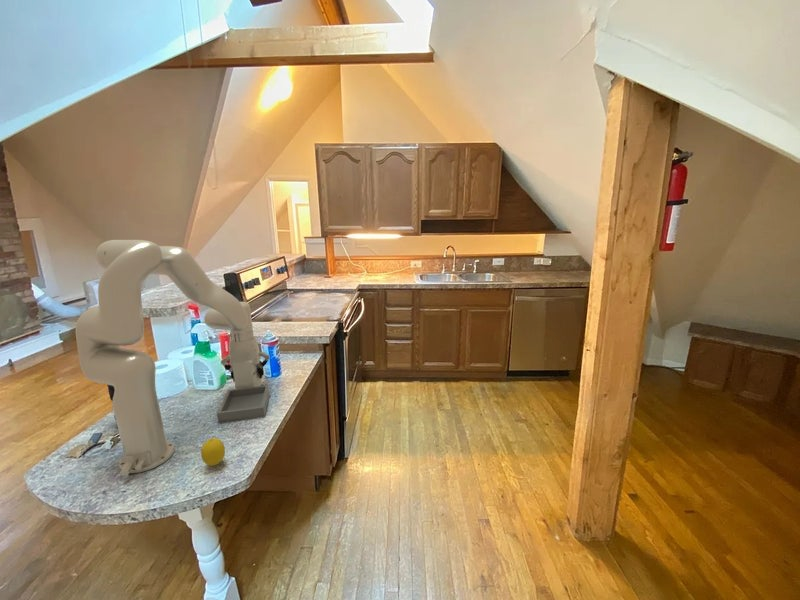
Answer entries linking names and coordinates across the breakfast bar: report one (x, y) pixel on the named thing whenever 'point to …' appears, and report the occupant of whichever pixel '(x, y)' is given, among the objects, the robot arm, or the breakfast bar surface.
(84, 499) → the breakfast bar surface
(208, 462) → the lemon
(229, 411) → the tray
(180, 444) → the breakfast bar surface
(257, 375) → the supplement box
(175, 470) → the breakfast bar surface
